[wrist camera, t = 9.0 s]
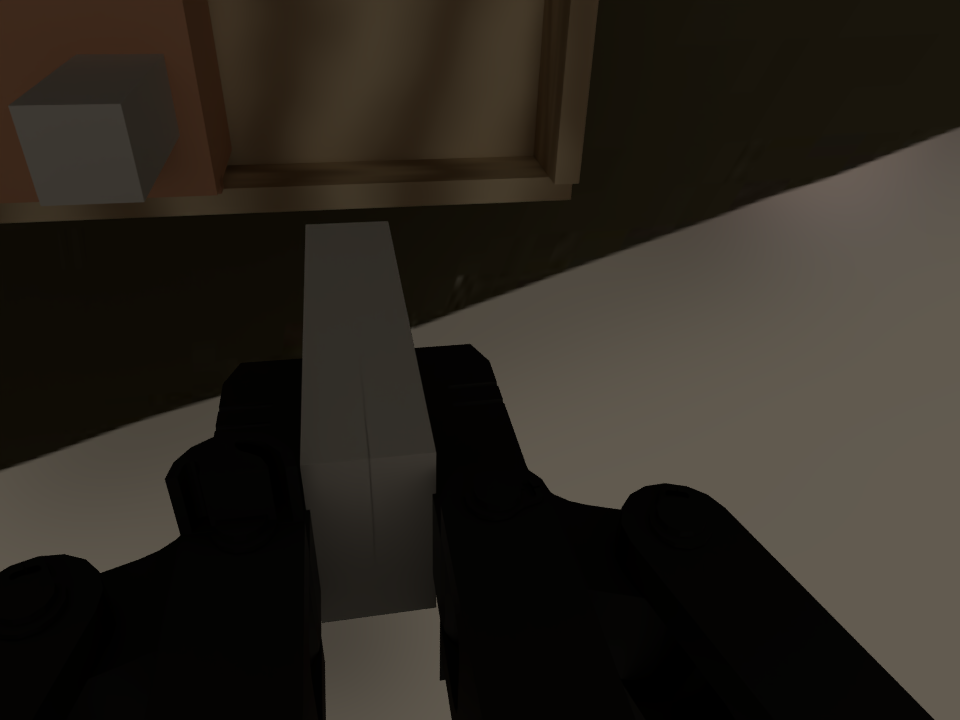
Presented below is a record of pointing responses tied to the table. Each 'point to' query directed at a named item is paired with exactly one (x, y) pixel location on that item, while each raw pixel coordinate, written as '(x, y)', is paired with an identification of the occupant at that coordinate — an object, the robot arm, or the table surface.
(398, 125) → the bay
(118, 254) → the table surface
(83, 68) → the brown block with post
